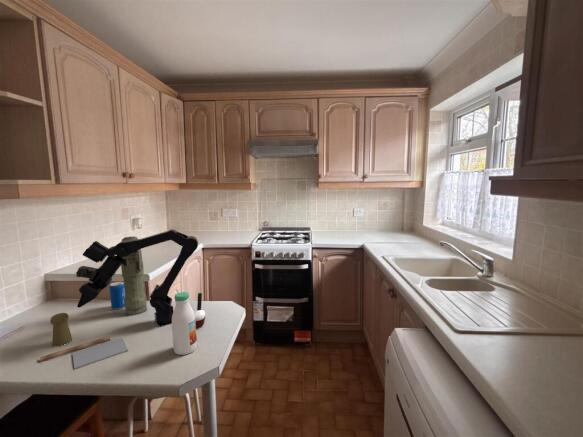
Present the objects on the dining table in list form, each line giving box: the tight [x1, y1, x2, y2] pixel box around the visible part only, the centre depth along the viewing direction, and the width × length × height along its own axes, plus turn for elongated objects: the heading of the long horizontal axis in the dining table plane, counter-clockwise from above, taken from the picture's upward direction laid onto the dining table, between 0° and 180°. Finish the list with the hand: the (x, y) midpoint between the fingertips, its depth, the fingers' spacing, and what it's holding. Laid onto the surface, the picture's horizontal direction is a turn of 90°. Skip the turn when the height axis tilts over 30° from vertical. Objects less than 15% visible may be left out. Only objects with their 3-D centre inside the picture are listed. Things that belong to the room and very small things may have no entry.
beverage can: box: [109, 281, 125, 311], centre depth 136 cm, size 6×6×12 cm
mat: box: [72, 337, 129, 370], centre depth 98 cm, size 15×11×1 cm
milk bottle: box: [171, 291, 198, 356], centre depth 98 cm, size 8×8×20 cm
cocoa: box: [194, 292, 206, 329], centre depth 115 cm, size 10×6×12 cm, turn 155°
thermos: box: [120, 236, 148, 316], centre depth 130 cm, size 9×12×35 cm
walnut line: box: [39, 335, 112, 363], centre depth 101 cm, size 20×2×1 cm, turn 130°
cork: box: [49, 312, 73, 347], centre depth 106 cm, size 6×6×11 cm
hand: (83, 302), depth 110 cm, fingers open, 9 cm apart
